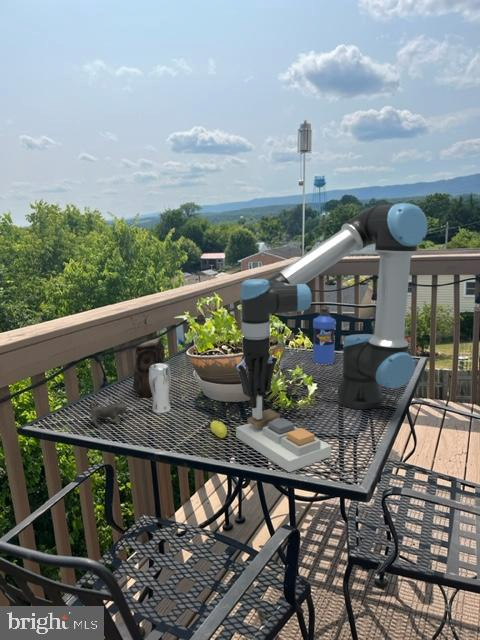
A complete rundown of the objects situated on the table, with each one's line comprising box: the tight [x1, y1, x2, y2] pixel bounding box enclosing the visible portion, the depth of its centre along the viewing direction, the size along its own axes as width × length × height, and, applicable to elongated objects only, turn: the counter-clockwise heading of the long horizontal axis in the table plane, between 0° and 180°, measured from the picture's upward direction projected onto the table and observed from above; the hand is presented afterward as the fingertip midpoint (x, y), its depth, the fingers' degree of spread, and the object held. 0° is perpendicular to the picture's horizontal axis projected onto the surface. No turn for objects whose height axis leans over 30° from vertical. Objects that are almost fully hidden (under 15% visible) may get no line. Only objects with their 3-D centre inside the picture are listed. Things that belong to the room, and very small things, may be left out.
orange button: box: [287, 427, 316, 446], centre depth 123 cm, size 5×5×2 cm
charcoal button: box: [268, 417, 295, 435], centre depth 129 cm, size 5×5×2 cm
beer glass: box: [149, 362, 172, 414], centre depth 156 cm, size 7×7×15 cm
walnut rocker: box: [246, 408, 281, 428], centre depth 136 cm, size 8×5×1 cm, turn 123°
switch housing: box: [235, 417, 332, 473], centre depth 130 cm, size 14×24×5 cm, turn 33°
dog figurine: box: [88, 402, 130, 429], centre depth 148 cm, size 12×6×7 cm, turn 111°
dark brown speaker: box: [132, 336, 166, 399], centre depth 170 cm, size 13×13×20 cm
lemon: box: [210, 420, 228, 439], centre depth 138 cm, size 4×8×4 cm, turn 21°
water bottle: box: [312, 305, 336, 364], centre depth 203 cm, size 9×9×25 cm
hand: (257, 417), depth 135 cm, fingers closed
